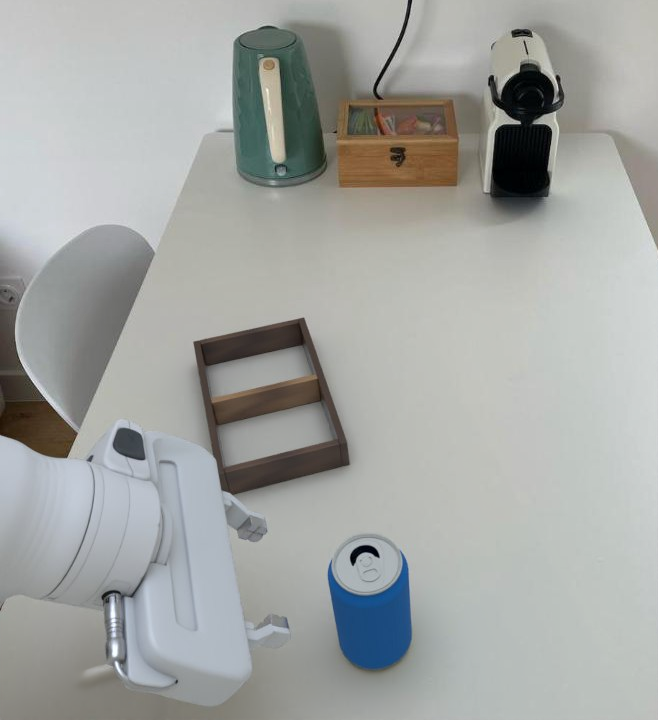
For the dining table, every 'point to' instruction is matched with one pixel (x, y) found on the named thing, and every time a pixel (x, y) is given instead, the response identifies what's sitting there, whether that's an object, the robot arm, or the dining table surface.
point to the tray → (268, 406)
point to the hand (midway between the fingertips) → (272, 578)
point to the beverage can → (371, 600)
